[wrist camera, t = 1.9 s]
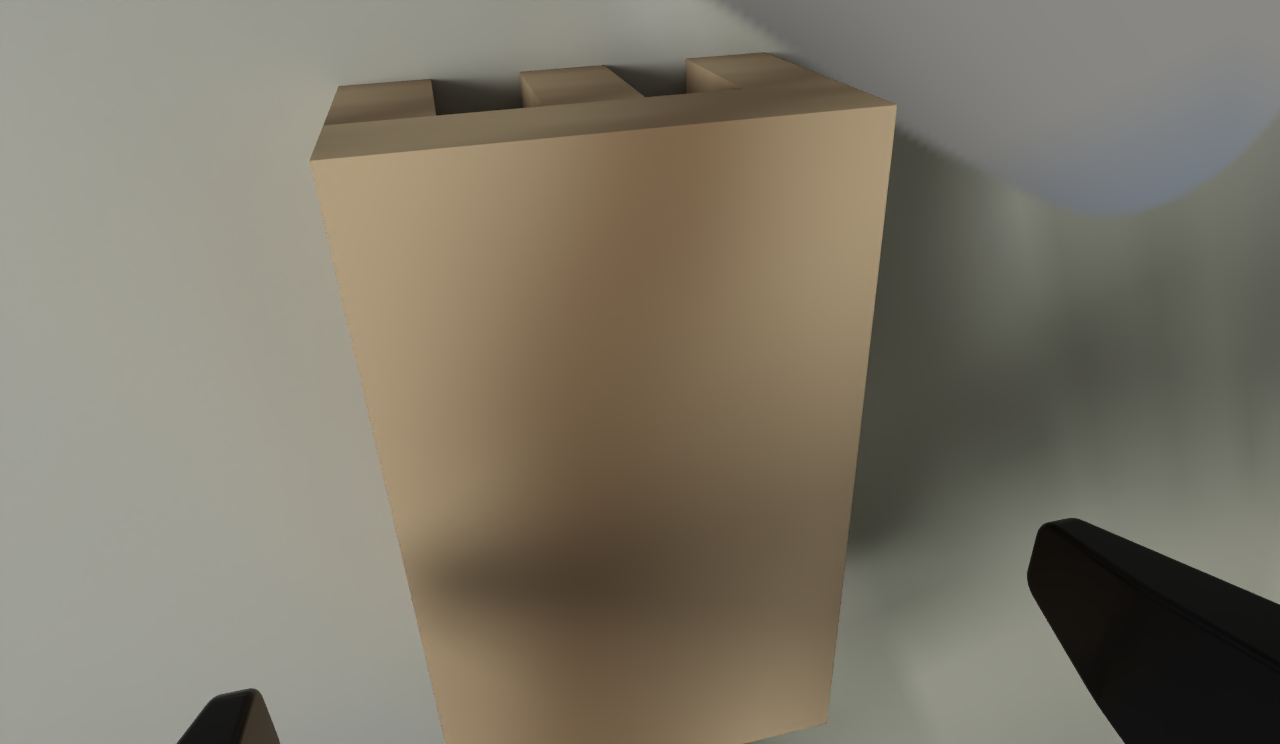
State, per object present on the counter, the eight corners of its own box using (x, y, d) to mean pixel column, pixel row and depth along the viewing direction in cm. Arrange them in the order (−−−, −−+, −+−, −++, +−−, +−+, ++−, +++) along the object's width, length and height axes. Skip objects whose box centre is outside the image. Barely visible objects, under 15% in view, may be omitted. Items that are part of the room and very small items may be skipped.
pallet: (761, 51, 12) (897, 106, 9) (743, 562, 17) (827, 723, 14) (339, 84, 11) (310, 161, 8) (450, 622, 16) (462, 813, 13)
